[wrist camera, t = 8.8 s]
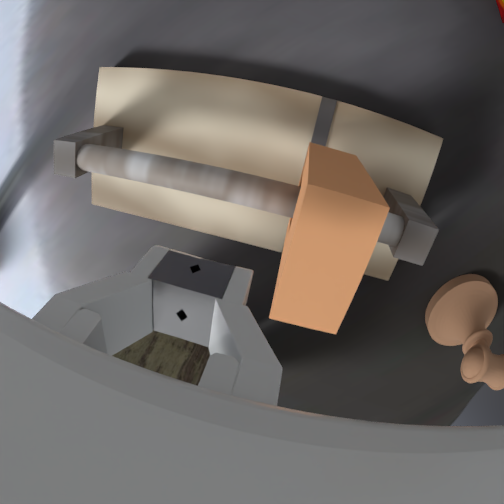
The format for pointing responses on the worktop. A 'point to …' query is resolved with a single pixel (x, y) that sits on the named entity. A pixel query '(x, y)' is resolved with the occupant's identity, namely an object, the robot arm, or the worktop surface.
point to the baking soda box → (501, 8)
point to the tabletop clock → (168, 356)
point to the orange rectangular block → (327, 240)
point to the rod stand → (242, 157)
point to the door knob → (468, 326)
